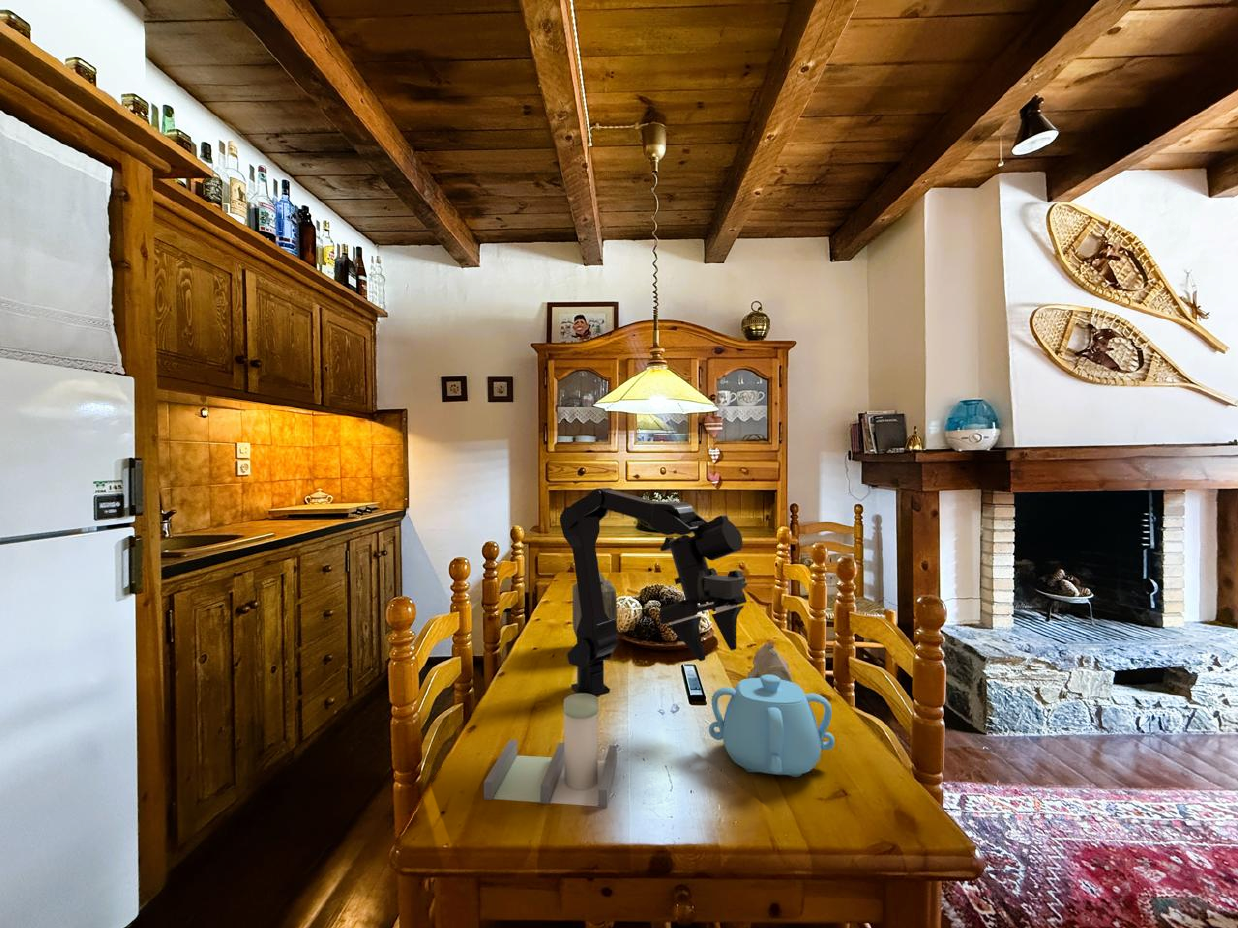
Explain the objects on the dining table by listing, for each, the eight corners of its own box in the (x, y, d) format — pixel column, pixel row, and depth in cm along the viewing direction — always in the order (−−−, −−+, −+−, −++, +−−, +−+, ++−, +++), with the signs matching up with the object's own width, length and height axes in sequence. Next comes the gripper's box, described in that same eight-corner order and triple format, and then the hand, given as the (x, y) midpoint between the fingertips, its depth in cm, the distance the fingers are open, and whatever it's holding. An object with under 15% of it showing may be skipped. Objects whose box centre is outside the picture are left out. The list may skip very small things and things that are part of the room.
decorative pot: (823, 735, 99) (823, 660, 99) (848, 802, 79) (848, 708, 79) (709, 726, 102) (710, 652, 102) (707, 787, 83) (707, 697, 83)
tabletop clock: (617, 660, 136) (617, 558, 136) (580, 663, 134) (580, 560, 134) (604, 641, 150) (604, 549, 150) (571, 644, 148) (571, 550, 148)
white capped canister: (558, 776, 84) (558, 697, 84) (589, 767, 86) (589, 690, 86) (572, 794, 79) (572, 711, 79) (604, 784, 82) (604, 703, 82)
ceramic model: (804, 704, 112) (804, 655, 112) (747, 701, 113) (748, 653, 113) (790, 677, 126) (790, 633, 126) (740, 675, 127) (740, 631, 127)
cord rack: (509, 760, 90) (509, 739, 90) (616, 767, 88) (616, 745, 88) (483, 806, 78) (483, 781, 78) (606, 815, 76) (606, 790, 76)
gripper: (692, 559, 90) (722, 658, 85) (755, 551, 103) (784, 636, 98) (646, 578, 97) (671, 669, 92) (710, 567, 110) (735, 647, 105)
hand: (718, 654), depth 97 cm, fingers open, 9 cm apart
